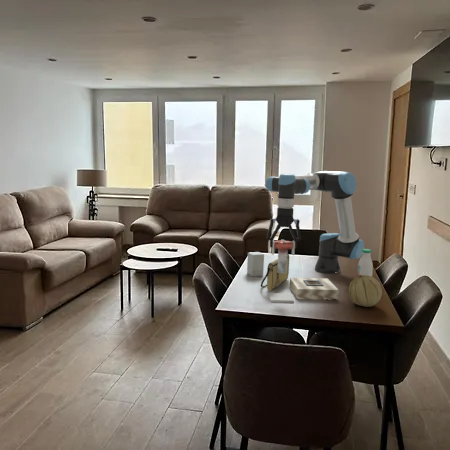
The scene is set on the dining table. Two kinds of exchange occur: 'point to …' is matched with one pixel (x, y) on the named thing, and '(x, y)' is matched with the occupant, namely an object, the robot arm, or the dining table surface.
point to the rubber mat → (280, 297)
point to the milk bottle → (365, 263)
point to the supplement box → (255, 264)
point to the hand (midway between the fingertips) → (282, 254)
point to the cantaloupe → (365, 291)
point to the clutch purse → (275, 275)
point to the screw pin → (282, 254)
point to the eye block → (313, 288)
